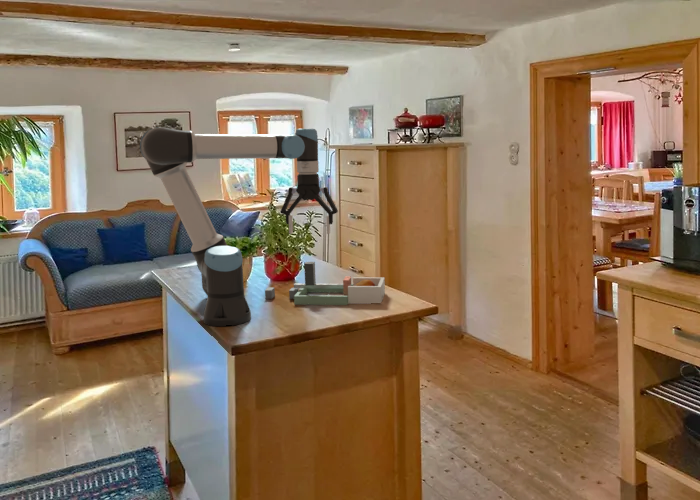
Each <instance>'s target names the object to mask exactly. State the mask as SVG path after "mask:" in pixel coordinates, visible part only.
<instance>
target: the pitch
mask: <svg viewBox="0 0 700 500" xmlns="http://www.w3.org/2000/svg"><path fill="white" fill-rule="evenodd" d="M351 286H353V283H351ZM275 289H276V288H275V287H270V286H269V287H267V288H266V289H264V296H265V297H264V298H265V300H273V299H274V298H275V296H276V291H275ZM288 291H289V292H288V293H289V294H288V295H289V296H288V297H289V298H288V299H289V300H294V301H293V302H294V303H293V304H294V305H300V306H301V305H304V306H306V305H308V306H309V305H313V306H315V305H317V306H348V304H349V303H348V296H344V295H330V294H331V293H344V292H343V289H334V288H294V287H291V288H290V289H289V290H288ZM308 293H328V294H327V295H313V294H311V295H309V294H308Z"/></svg>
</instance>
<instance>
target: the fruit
mask: <svg viewBox="0 0 700 500" xmlns="http://www.w3.org/2000/svg"><path fill="white" fill-rule="evenodd" d="M355 286H375V285H374V283H373V282H372V281H371V280H363V281H361V282H359V283H357V284H356V285H355Z"/></svg>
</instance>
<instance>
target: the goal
mask: <svg viewBox="0 0 700 500" xmlns="http://www.w3.org/2000/svg"><path fill="white" fill-rule="evenodd" d="M363 280H371V281H372V282H373V283H374V285H375V286H355V285H356V284H357V283H359V282H361V281H363ZM385 280H386V279H385V277H384V276H383V277H382V276H381V277H380V276H379V277H378V276H377V277H371V276H370V277H366V276H363V277H362V276H361V277H360V276H359V277H357V276H354V277H352V284H353V286H348V304H352V305H353V304H356V305H357V304H360V305H361V304H363V305H365V304H366V305H367V304H368V305H369V304H370V305H372V304H371V303H381V302H382V303H383V300H384V297H385V294H386V290H385V289H386V287H385V286H386V285H385V283H386V281H385ZM382 303H381V304H382Z"/></svg>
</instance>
